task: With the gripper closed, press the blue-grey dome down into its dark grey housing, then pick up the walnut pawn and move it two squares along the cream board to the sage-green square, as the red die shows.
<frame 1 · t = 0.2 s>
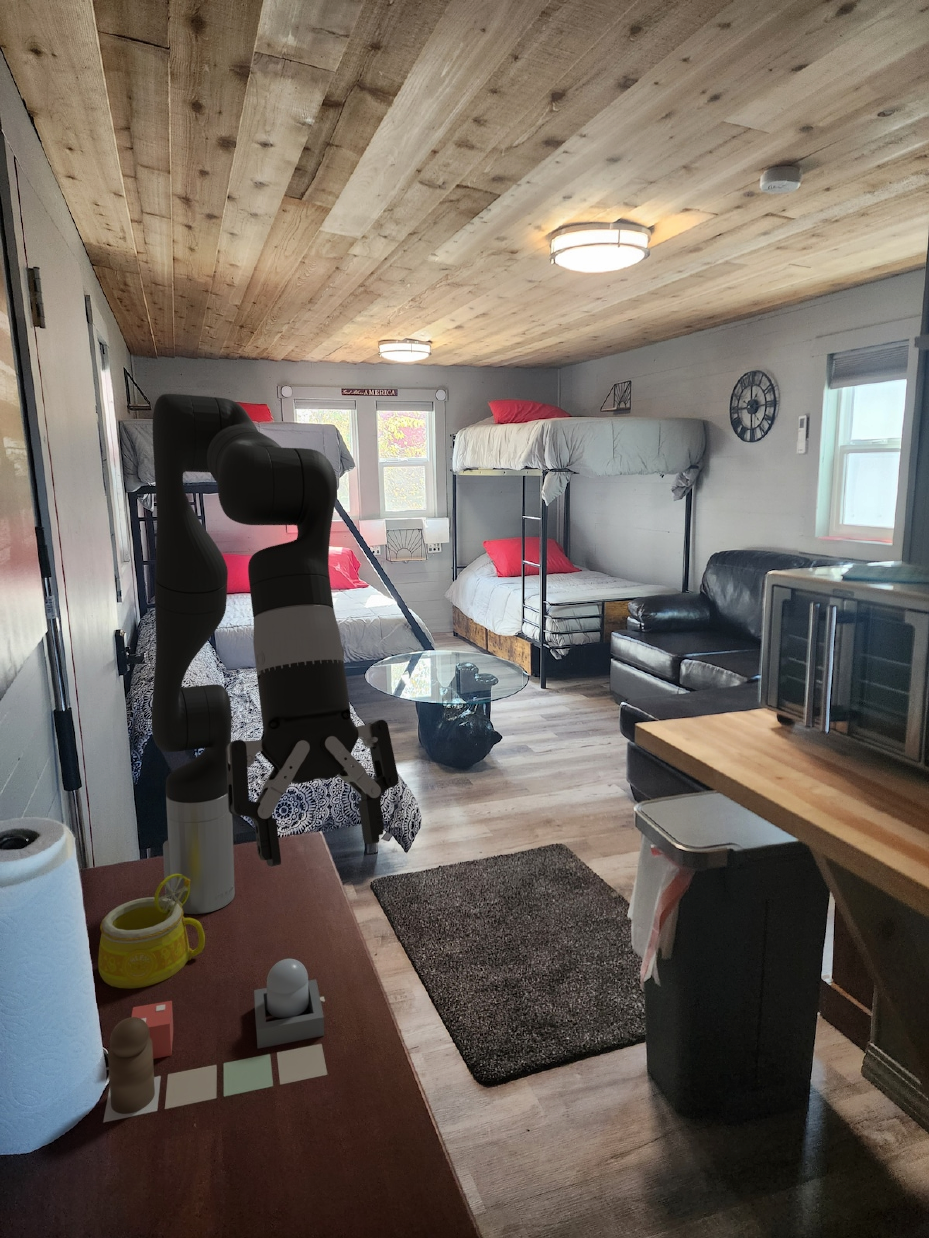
hand: (324, 853, 64), 31 cm above the table, tool tilted 20°, fingers open, 8 cm apart
dome: (287, 983, 87), point 6 cm above the table, slide at 0.0 cm
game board: (220, 1065, 81), on the table
mug: (153, 972, 98), on the table
pawn: (133, 1097, 76), point 1 cm above the table, touching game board
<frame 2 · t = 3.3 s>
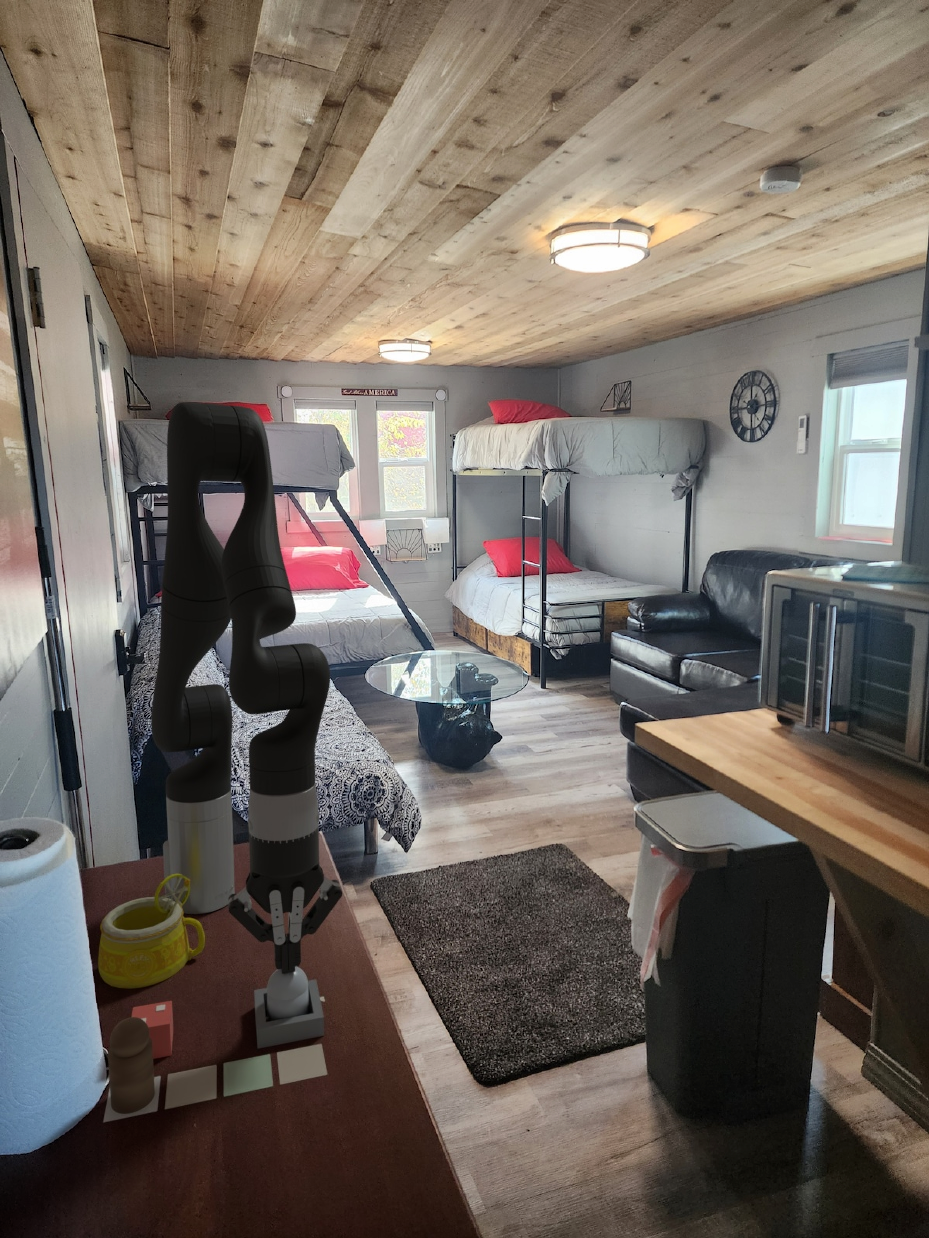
hand: (287, 968, 86), 8 cm above the table, tool pointing down, fingers closed
dome: (287, 989, 87), point 5 cm above the table, slide at -0.8 cm, touching gripper
everything else where it was.
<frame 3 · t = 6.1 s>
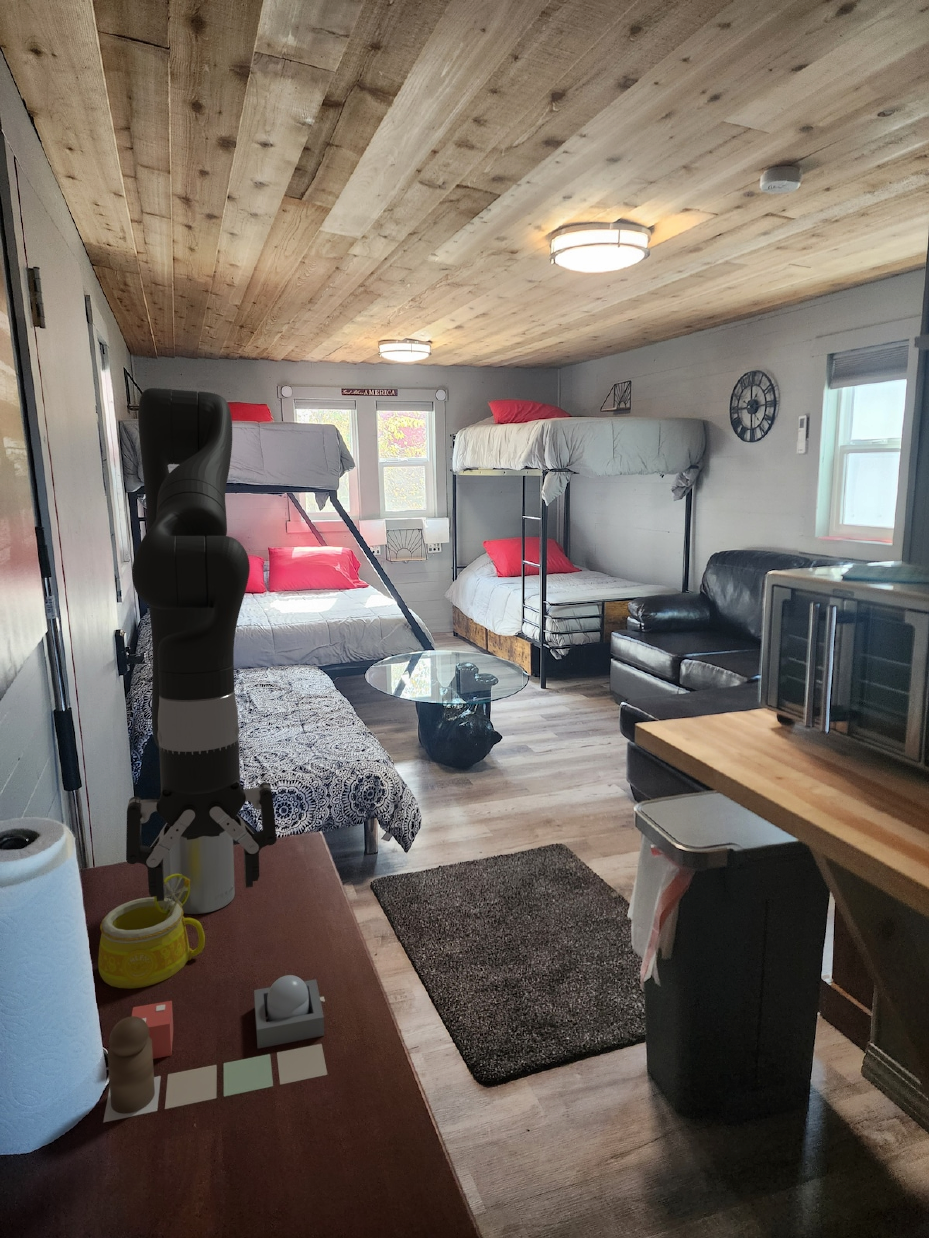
hand: (205, 890, 78), 21 cm above the table, tool pointing down, fingers open, 8 cm apart
dome: (288, 999, 87), point 4 cm above the table, slide at -2.1 cm
everything else where it was.
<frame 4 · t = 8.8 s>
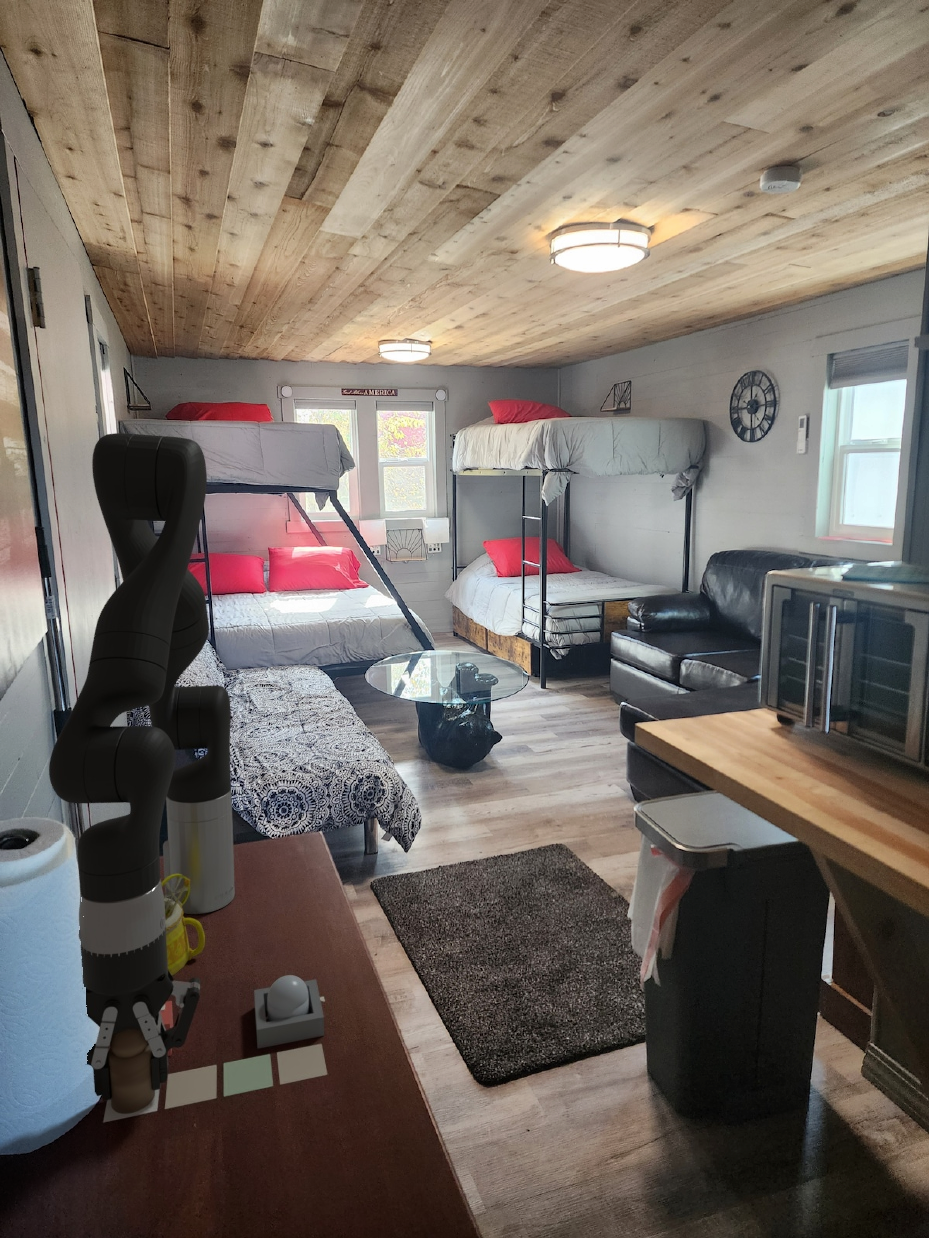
hand: (132, 1088, 75), 2 cm above the table, tool pointing down, fingers closed on pawn, 4 cm apart
pawn: (133, 1097, 76), point 1 cm above the table, touching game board, gripper
everything else where it was.
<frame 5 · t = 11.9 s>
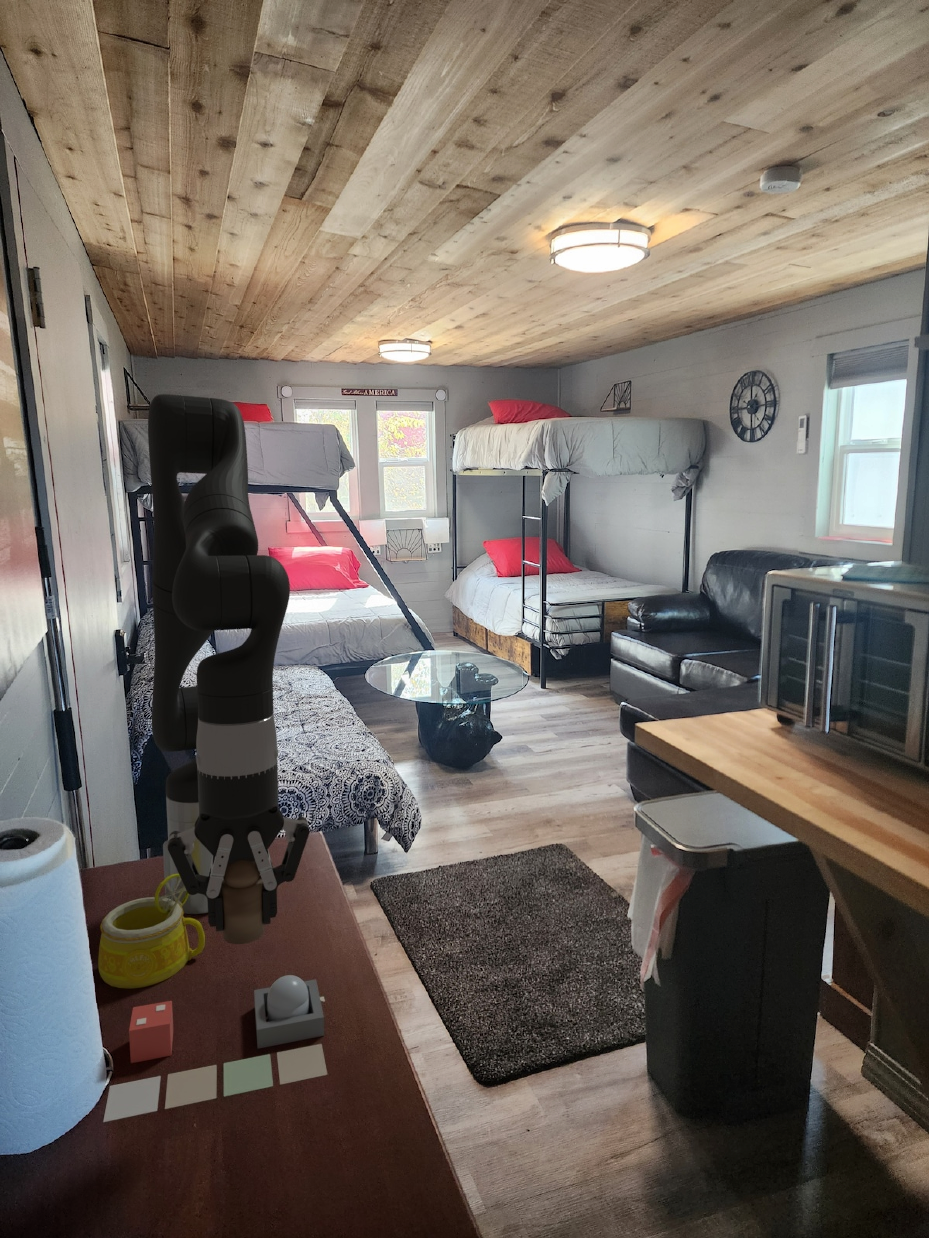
hand: (243, 923, 76), 18 cm above the table, tool pointing down, fingers closed on pawn, 4 cm apart
pawn: (243, 932, 77), point 17 cm above the table, touching gripper
everything else where it was.
when the fingers open (3 cm above the table, at t = 14.8 s): pawn stays where it is, resting on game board.
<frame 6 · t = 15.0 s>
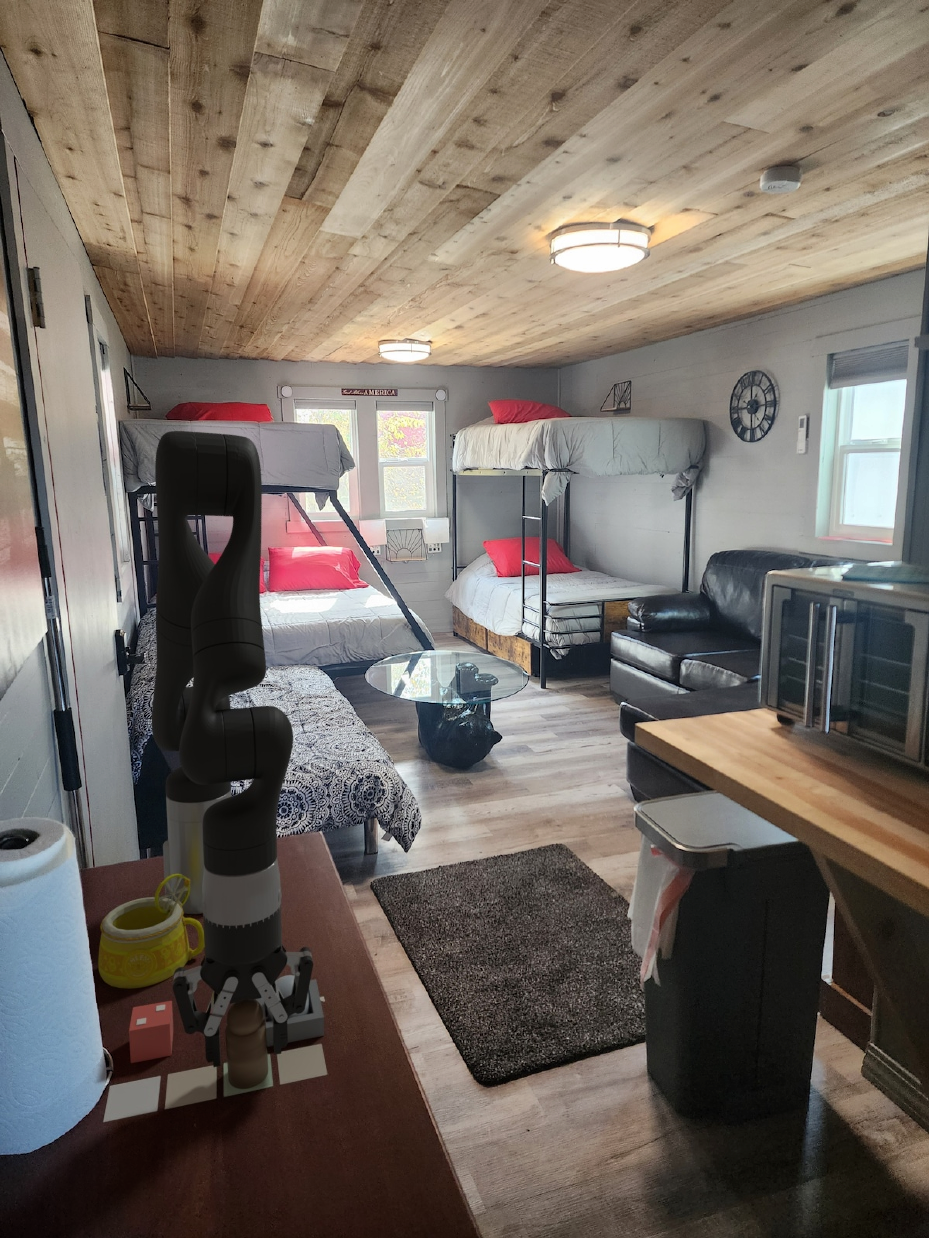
hand: (247, 1054, 79), 3 cm above the table, tool pointing down, fingers open, 5 cm apart
pawn: (248, 1073, 79), point 1 cm above the table, touching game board
everything else where it was.
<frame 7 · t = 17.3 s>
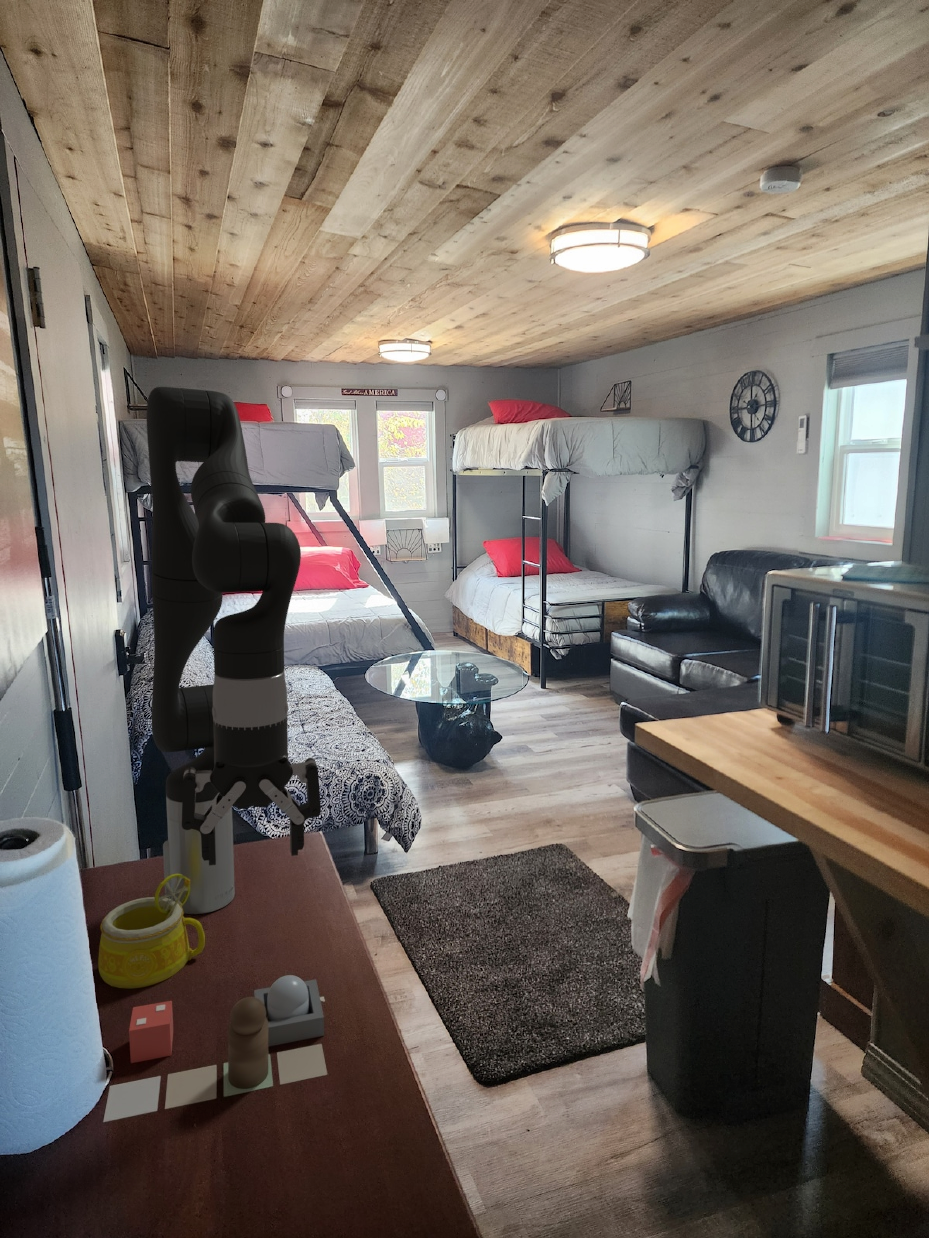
hand: (253, 857, 82), 22 cm above the table, tool pointing down, fingers open, 8 cm apart
nothing on the table moved.
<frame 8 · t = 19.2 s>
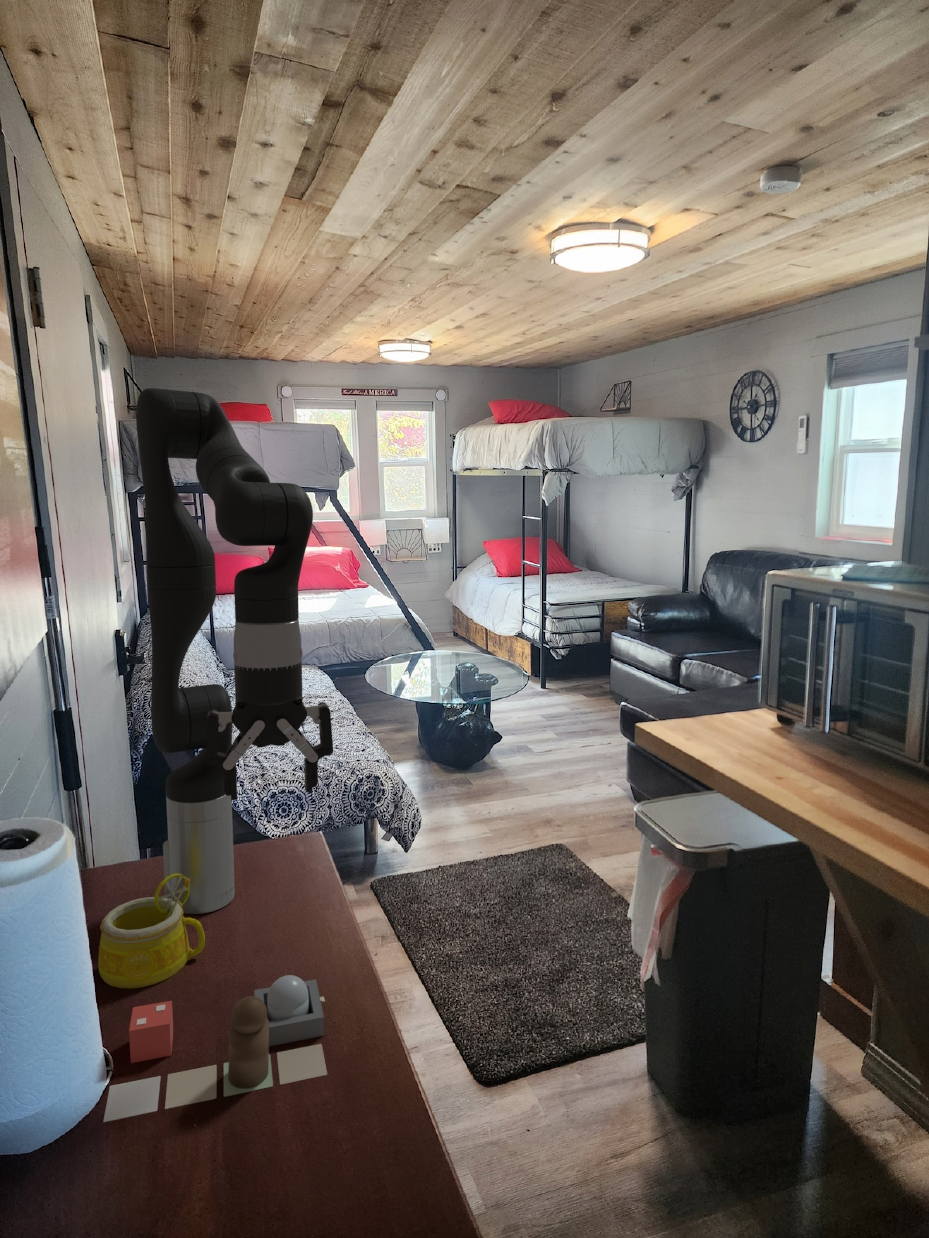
hand: (271, 794, 89), 26 cm above the table, tool pointing down, fingers open, 8 cm apart
nothing on the table moved.
at the end: dome slide at -2.1 cm; pawn 0.1 cm from the target spot, point 1.2 cm above the table; pawn tilted 2° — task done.
